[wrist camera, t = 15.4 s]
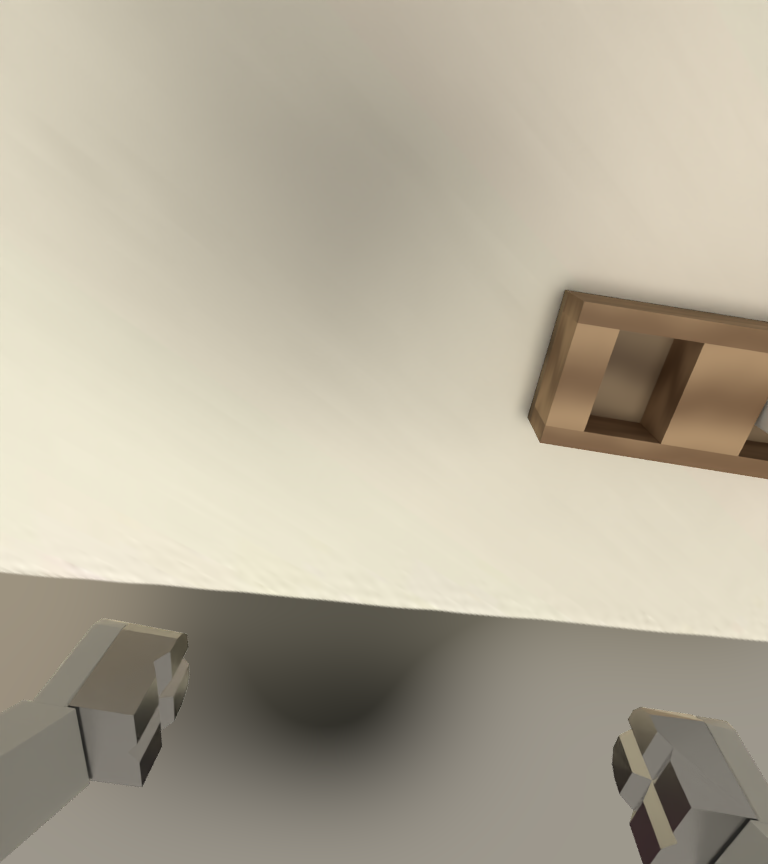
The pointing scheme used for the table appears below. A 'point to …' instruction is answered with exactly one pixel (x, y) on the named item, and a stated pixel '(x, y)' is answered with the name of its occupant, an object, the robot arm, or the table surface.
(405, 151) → the table surface
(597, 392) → the walnut slot rail
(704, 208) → the table surface
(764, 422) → the eye dropper bottle
